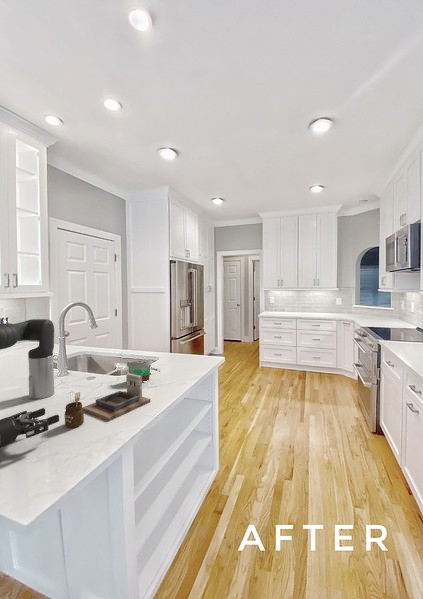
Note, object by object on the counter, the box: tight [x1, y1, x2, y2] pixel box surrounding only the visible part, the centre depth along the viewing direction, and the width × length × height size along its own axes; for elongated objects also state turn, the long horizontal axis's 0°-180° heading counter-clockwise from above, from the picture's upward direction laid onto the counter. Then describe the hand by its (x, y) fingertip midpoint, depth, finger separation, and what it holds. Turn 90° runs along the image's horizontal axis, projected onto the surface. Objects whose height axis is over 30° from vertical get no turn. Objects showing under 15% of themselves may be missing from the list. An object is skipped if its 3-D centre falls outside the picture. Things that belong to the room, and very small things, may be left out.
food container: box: [126, 359, 153, 383], centre depth 145 cm, size 12×6×10 cm, turn 105°
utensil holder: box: [64, 391, 85, 429], centre depth 101 cm, size 6×6×12 cm
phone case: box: [150, 366, 162, 374], centre depth 164 cm, size 7×1×15 cm
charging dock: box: [82, 372, 151, 422], centre depth 116 cm, size 20×16×10 cm
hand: (51, 414), depth 95 cm, fingers open, 8 cm apart
